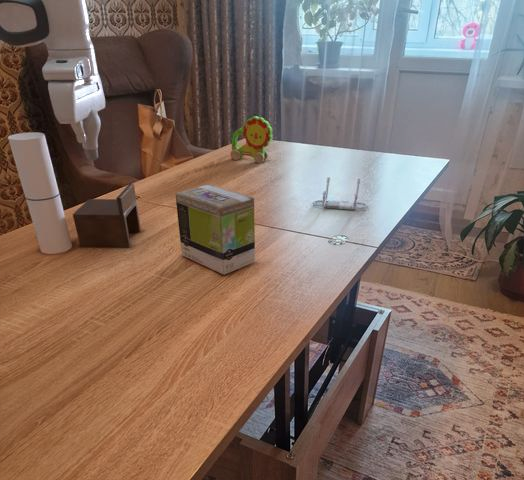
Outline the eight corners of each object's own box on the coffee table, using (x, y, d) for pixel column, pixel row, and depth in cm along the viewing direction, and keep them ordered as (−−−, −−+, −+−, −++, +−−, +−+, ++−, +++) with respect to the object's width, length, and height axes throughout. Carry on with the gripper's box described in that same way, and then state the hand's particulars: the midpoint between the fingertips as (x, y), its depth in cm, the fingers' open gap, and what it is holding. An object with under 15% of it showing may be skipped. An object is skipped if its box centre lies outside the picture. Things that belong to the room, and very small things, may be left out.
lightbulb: (112, 158, 110) (102, 104, 104) (98, 165, 105) (88, 109, 99) (88, 156, 111) (77, 103, 105) (73, 163, 106) (61, 108, 100)
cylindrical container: (38, 255, 112) (4, 140, 97) (43, 243, 117) (11, 133, 103) (70, 252, 113) (41, 138, 98) (73, 240, 119) (46, 131, 104)
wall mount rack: (311, 210, 136) (312, 189, 133) (316, 195, 147) (317, 175, 143) (366, 213, 133) (369, 192, 130) (368, 198, 144) (370, 178, 141)
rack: (80, 246, 116) (68, 197, 109) (95, 229, 125) (85, 182, 118) (129, 247, 115) (120, 197, 108) (141, 230, 124) (133, 183, 117)
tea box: (256, 262, 108) (256, 196, 100) (223, 276, 102) (219, 208, 94) (213, 243, 117) (209, 181, 108) (180, 256, 111) (173, 191, 103)
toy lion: (230, 160, 181) (228, 115, 172) (236, 156, 185) (235, 113, 176) (268, 164, 176) (268, 119, 167) (274, 161, 180) (274, 116, 171)
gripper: (77, 61, 106) (90, 128, 114) (37, 70, 89) (56, 149, 97) (105, 61, 106) (116, 129, 114) (70, 71, 89) (86, 149, 97)
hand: (88, 138), depth 105 cm, fingers closed on lightbulb, 6 cm apart
